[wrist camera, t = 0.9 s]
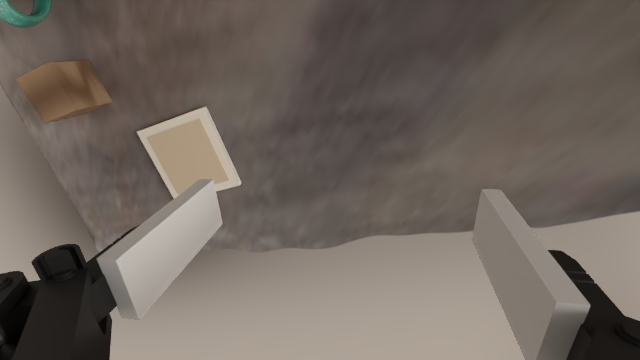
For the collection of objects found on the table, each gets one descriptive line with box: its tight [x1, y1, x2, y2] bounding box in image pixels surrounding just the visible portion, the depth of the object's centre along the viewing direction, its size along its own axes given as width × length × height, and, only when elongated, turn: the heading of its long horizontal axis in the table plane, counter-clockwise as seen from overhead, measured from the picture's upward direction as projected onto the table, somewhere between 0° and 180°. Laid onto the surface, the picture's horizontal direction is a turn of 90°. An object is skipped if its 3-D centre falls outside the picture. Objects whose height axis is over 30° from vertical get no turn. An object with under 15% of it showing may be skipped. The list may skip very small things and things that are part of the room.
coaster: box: [137, 106, 242, 199], centre depth 46 cm, size 12×12×1 cm
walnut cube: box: [16, 60, 112, 123], centre depth 42 cm, size 6×6×6 cm
